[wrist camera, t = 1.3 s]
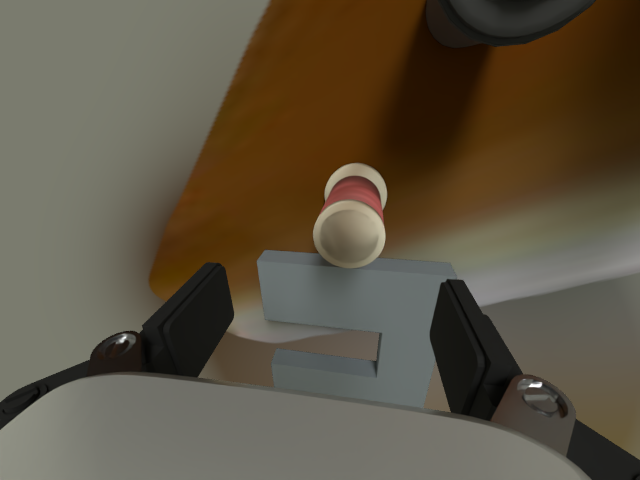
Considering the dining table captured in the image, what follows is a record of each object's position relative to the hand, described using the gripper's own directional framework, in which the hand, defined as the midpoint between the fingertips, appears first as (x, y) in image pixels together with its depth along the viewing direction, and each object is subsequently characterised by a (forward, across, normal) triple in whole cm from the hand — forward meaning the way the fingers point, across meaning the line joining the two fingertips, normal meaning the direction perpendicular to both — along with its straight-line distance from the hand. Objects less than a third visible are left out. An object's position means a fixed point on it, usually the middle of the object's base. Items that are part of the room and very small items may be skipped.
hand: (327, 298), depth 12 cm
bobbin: (+16, -1, 0) cm, 16 cm away
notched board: (+16, -1, +19) cm, 25 cm away
